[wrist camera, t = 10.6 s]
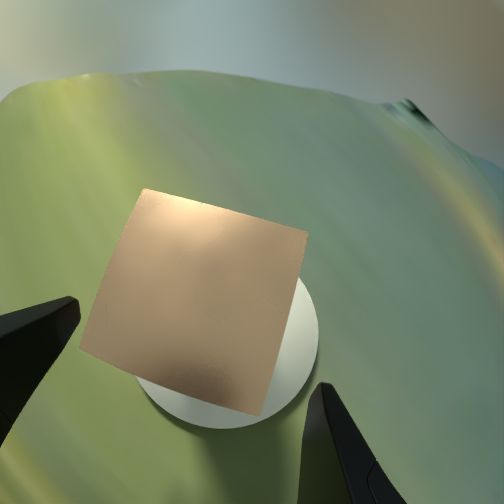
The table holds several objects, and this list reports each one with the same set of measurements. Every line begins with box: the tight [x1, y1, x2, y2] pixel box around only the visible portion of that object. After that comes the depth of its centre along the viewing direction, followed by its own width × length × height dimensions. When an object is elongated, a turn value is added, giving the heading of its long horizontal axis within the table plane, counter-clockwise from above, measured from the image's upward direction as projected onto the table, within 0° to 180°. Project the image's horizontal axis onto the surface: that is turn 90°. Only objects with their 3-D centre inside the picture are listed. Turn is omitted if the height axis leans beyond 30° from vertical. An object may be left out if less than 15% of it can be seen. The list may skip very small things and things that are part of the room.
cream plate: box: [136, 277, 318, 429], centre depth 20 cm, size 14×14×1 cm
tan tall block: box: [79, 189, 309, 417], centre depth 13 cm, size 5×5×13 cm
